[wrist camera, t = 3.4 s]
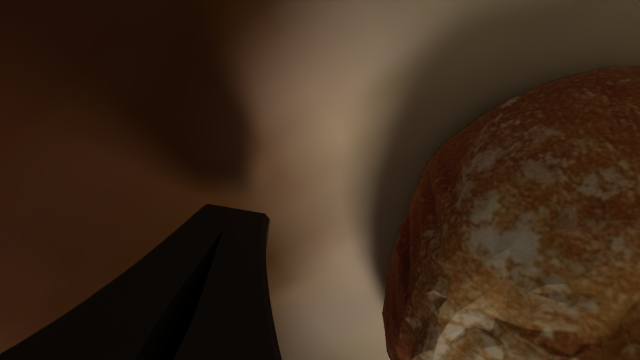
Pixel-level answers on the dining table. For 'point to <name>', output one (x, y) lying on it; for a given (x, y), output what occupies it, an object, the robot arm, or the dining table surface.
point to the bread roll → (527, 232)
